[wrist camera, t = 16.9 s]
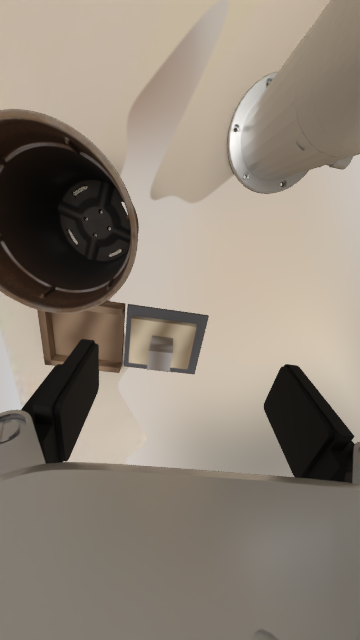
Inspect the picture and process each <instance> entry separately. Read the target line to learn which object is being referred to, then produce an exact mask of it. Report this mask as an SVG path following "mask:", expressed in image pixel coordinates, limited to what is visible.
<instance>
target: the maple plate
mask: <svg viewBox="0 0 360 640" xmlns="http://www.w3.org/2000/svg"><path fill="white" fill-rule="evenodd" d="M196 328H197V326H196V324H192V323H185V322H177V321H170V320H162V319H155V318H147V317H140V316H132V319H131V334H130V348H129V363H135V364H144V365H147V369H148V370H158V371H166V372H170V368H179V369H188V365H189V360H190V356H191V351H192V346H193V342H194V337H195V333H196Z"/></svg>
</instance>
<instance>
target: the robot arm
mask: <svg viewBox="0 0 360 640" xmlns="http://www.w3.org/2000/svg"><path fill="white" fill-rule="evenodd" d="M266 84H268V87H267V86H266ZM233 129H236V130H237V132H236V133H235V132H234V131H233ZM227 146H228V157H229V161H230V165H231V168H232V170H233V172H234V174H235V176H236V177H237V179H238V180H239V181H240V182H241V183H242V184H243V185H244V186H245V187H246V188H248V189H250V190H251V191H254V192H257V193H264V194H269V193H276V192H279V191H283V190H285V189H287V188H289V187H291V186H292V185H294V184H295V183H297V182H298V181H299V180H300V179H301V178H302V177H304V176H305V174H306V173H307V172H308V171H309V170H310V169H313V168H317V167H321V166H323V165H329V166H330V167H333V168H338V169H345V168H346V167H347V166H348V165H349V163H350V162H351V160H352V157H353V156H355V155H358V154H360V0H330V2H329V3H328V5H327V6H326V7H325V9H324V10H323V12H322V13H321V15H320V16H319V17H318V19H317V20H316V21H315V23H314V24H313V25H312V27H311V28H310V29H309V31H308V32H307V34H306V35H305V36H304V38H303V39H302V40H301V42H300V43H299V44H298V46H297V47H296V48H295V50H294V51H293V53H292V54H291V55H290V57H289V58H288V59H287V61H286V62H285V63H284V65H283V66H282V68H281V69H280V70H279V71H277V72H274V73H271V74H269V75H267V76H265V77H263V78H262V79H261V80H259V81H258V82H256V83H255V84H254V85H253V86H252V87H251V88H250V89H249V90H248V91H247V93H246V94H245V96H244V97H243V98H242V100H241V101H240V103H239V105H238V107H237V108H236V110H235V113H234V115H233V118H232V120H231V124H230V128H229V132H228V142H227ZM244 175H245V176H246V179H244V178H243V176H244ZM280 183H282V186H280ZM98 388H99V345H98V344H96V343H95V341H94V340H88V339H81V340H80V342H79V343H78V344H77V346H76V347H75V348H74V350H73V351H72V352H71V354H70V355H69V356H68V358H67V359H66V360H65V362H64V363H63V364H58V365H56V366H55V367H54V368H53V370H52V371H51V372H50V373H49V375H48V376H47V377H46V379H45V380H44V381H43V382H42V384H41V385H40V386H39V388H38V389H37V390H36V391H35V393H34V394H33V395H32V397H31V398H30V399H29V400H28V402H27V403H26V404H25V406H24V407H23V408H22V409H21V410H11V411H6V412H3V413H0V640H360V442H358V443H356V444H354V443H353V442H352V441H351V440H352V439H353V438H354V435H353V434H352V433H351V431H350V430H349V429H348V428H347V426H346V425H345V424H344V423H343V422H342V420H341V419H340V418H339V417H338V415H337V414H336V413H335V411H334V410H333V409H332V408H331V406H330V405H329V404H328V403H327V401H326V400H325V399H324V398H323V396H322V395H321V394H320V393H319V391H318V390H317V389H316V388H315V386H314V385H313V384H312V383H311V381H310V380H309V379H308V378H307V376H306V375H305V374H304V372H303V371H302V370H301V369H300V367H298V366H295V365H288V364H286V365H284V367H281V368H280V370H279V373H278V375H277V377H276V379H275V381H274V383H273V385H272V388H271V390H270V392H269V394H268V396H267V398H266V401H265V403H264V410H265V413H266V415H267V417H268V419H269V422H270V424H271V426H272V428H273V430H274V433H275V435H276V437H277V439H278V442H279V444H280V446H281V449H282V451H283V453H284V455H285V457H286V460H287V462H288V464H289V466H290V468H291V471H292V473H293V475H294V477H283V476H271V475H259V474H245V473H233V472H220V471H207V470H193V469H180V468H166V467H151V466H136V465H123V464H103V463H84V462H63V461H68V459H69V457H70V455H71V453H72V450H73V448H74V446H75V443H76V441H77V439H78V436H79V434H80V432H81V429H82V427H83V425H84V422H85V420H86V418H87V416H88V413H89V411H90V409H91V406H92V404H93V402H94V399H95V397H96V395H97V392H98Z"/></svg>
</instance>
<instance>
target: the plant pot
mask: <svg viewBox="0 0 360 640" xmlns="http://www.w3.org/2000/svg"><path fill="white" fill-rule="evenodd" d="M87 185H88V188H87V190H83V191H82V192H80V193H79V194H78V195H76V196H74V195H73V192H74V191H75V190H76V189H78V188H80V187H82V186H87ZM121 202H124V203H125V205H126V208H127V212H128V215H127V213H126V211H125V209H124V208H123V206H122V203H121ZM99 209H101V210H102V211H103V213H102V214H99V212H98V211H99ZM85 216H86V217H88V220H87V221H85V220H84V217H85ZM108 226H110V227H111V230H110V231H108V230H107V227H108ZM67 229H69V230H70V231H71V232H72V234H73V236H74V237H75V239H76V240H77V242H78V245H76V244H75V243H74V242H73V241H72V239H71V237H70V235H69V233H68V230H67ZM93 233H96V234H97V237H94V236H93ZM137 242H138V218H137V214H136V211H135V208H134V206H133V204H132V202H131V199H130V196H129V194H128V191H127V189H126V187H125V185H124V183H123V181H122V179H121V178H120V176H119V174H118V173H117V171H116V170H115V168H114V167H113V165H112V164H111V163H110V161H109V160H108V159H107V158H106V156H105V155H104V154H103V153H102V152H101V151H100V150H99V149H98V148H97V147H96V146H95V145H94V144H93V143H92V142H91V141H90V140H89V139H87V138H86V137H85V136H84V135H82V134H81V133H80V132H78V131H77V130H75V129H74V128H72V127H70V126H69V125H67V124H65V123H63V122H62V121H60V120H58V119H55V118H53V117H50V116H48V115H45V114H42V113H38V112H34V111H28V110H20V109H7V110H0V291H1V292H2V293H4V294H5V295H7V296H9V297H10V298H12V299H14V300H16V301H18V302H20V303H22V304H24V305H26V306H29V307H31V308H34V309H38V310H41V311H46V312H52V313H76V312H82V311H85V310H88V309H91V308H93V307H96V306H98V305H100V304H102V303H104V302H105V301H107V300H108V299H110V298H111V297H112V296H113V295H114V294H115V293H116V292H117V291H118V290H119V289H120V288H121V287H122V285H123V284H124V283H125V281H126V279H127V278H128V276H129V274H130V272H131V269H132V267H133V264H134V260H135V256H136V251H137ZM118 249H121V250H122V252H121V253H119V254H117V255H115V256H112V257H108V254H110V253H113V252H115V251H117V250H118Z"/></svg>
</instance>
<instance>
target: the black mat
mask: <svg viewBox="0 0 360 640" xmlns="http://www.w3.org/2000/svg"><path fill="white" fill-rule="evenodd" d="M132 316H140V317H147V318H155V319H162V320H170V321H177V322H185V323H192V324H196V326H197V328H196V333H195V337H194V342H193V346H192V351H191V356H190V360H189V365H188V369H179V368H170V372H178V373H187V374H195V370H196V366H197V361H198V357H199V353H200V349H201V345H202V341H203V337H204V333H205V329H206V325H207V321H208V317H209V316H208V315H201V314H195V313H188V312H181V311H174V310H167V309H160V308H159V309H158V308H152V307H145V306H138V305H131V304H128V308H127V325H126V341H125V357H124V366H127V367H136V368H144V369H147V365H144V364H135V363H129V348H130V334H131V319H132Z"/></svg>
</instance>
